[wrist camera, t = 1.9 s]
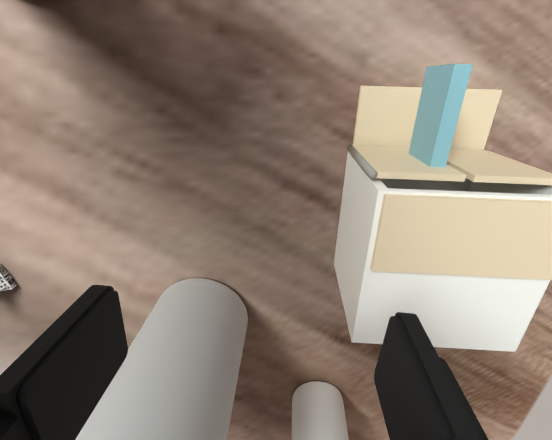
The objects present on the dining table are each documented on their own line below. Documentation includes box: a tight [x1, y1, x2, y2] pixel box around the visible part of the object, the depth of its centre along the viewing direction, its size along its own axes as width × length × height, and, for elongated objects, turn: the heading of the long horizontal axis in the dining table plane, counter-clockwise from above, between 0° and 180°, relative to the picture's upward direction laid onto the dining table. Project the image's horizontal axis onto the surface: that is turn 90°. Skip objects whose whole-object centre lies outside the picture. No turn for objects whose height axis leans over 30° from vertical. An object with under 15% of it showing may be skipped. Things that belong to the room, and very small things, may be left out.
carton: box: [334, 86, 552, 352], centre depth 28 cm, size 20×14×13 cm
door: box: [348, 64, 473, 182], centre depth 25 cm, size 8×7×10 cm
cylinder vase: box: [75, 278, 248, 440], centre depth 31 cm, size 12×12×25 cm
